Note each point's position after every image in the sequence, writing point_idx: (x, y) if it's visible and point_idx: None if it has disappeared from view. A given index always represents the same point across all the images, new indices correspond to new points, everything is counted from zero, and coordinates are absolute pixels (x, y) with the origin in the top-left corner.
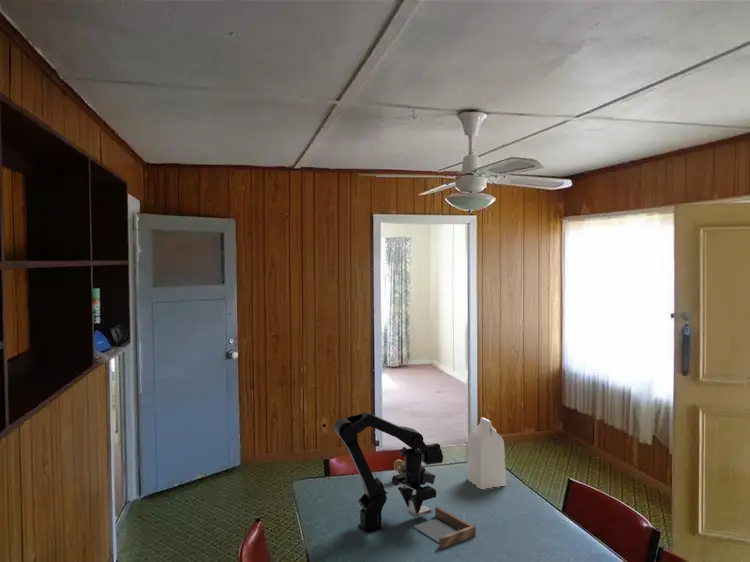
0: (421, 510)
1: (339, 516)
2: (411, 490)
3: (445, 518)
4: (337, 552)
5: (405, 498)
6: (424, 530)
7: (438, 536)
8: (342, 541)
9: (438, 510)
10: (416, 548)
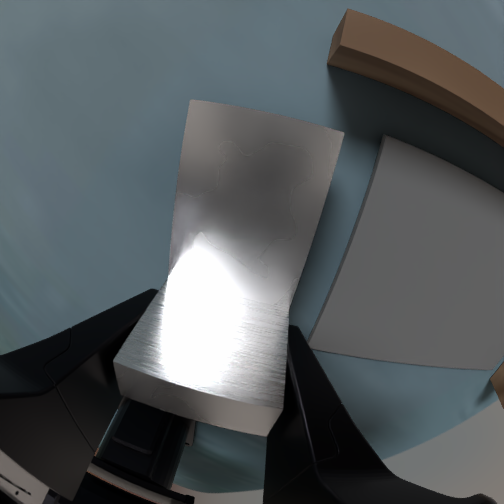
0: (267, 240)
1: None
2: (33, 426)
3: (472, 121)
4: (227, 488)
5: (108, 418)
6: (400, 345)
7: (484, 340)
8: (187, 469)
9: (397, 69)
10: (413, 428)
